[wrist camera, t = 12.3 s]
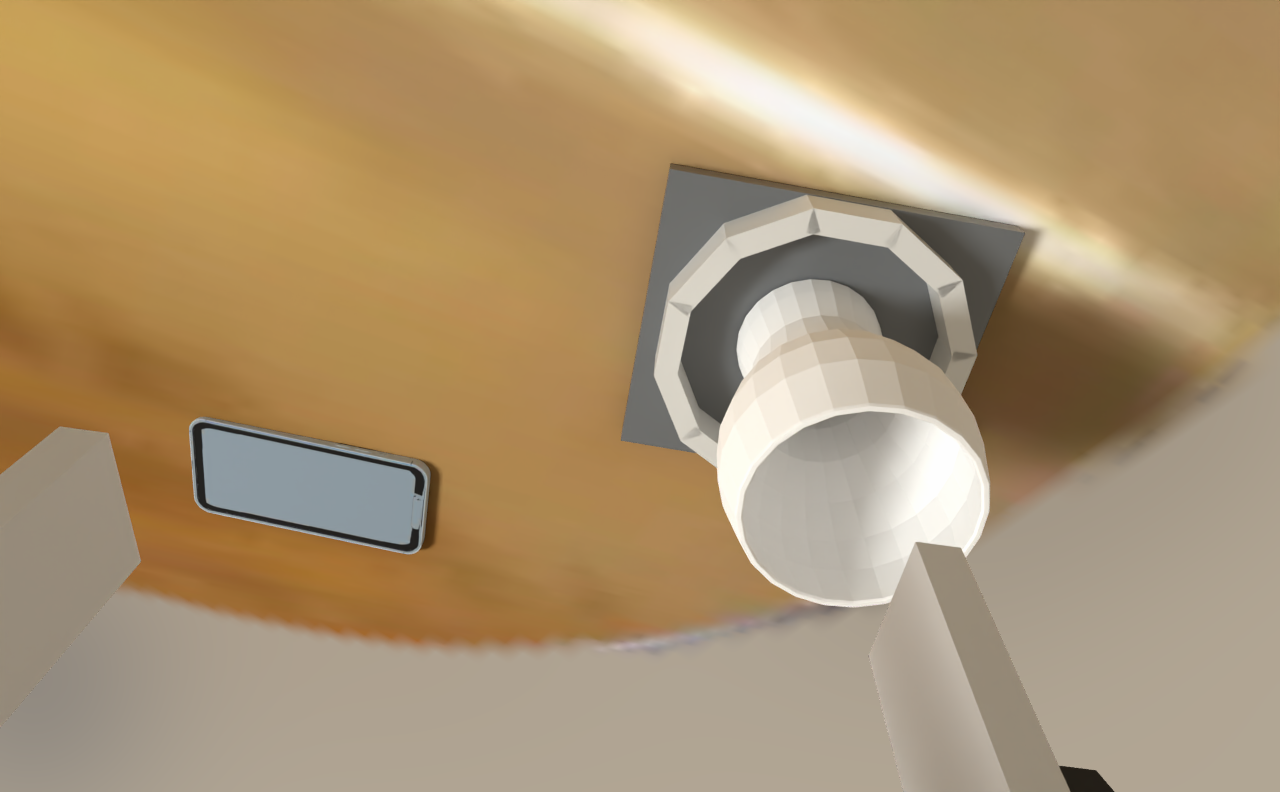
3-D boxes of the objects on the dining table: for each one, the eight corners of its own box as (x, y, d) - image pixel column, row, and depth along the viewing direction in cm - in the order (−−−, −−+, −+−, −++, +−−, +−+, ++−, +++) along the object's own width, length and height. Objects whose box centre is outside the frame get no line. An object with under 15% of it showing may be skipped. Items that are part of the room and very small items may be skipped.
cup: (949, 340, 43) (1067, 509, 29) (804, 461, 47) (849, 657, 34) (812, 209, 40) (875, 332, 26) (669, 351, 44) (662, 519, 31)
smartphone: (187, 415, 49) (429, 466, 49) (196, 407, 49) (433, 458, 50) (195, 510, 52) (420, 557, 53) (203, 501, 53) (424, 548, 53)
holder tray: (670, 163, 40) (669, 181, 37) (1016, 225, 41) (1044, 248, 37) (622, 429, 48) (617, 463, 45) (913, 479, 48) (929, 516, 45)
